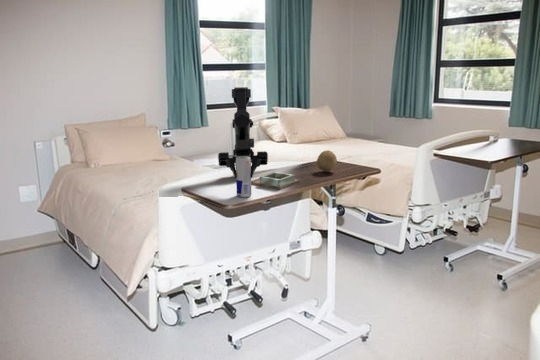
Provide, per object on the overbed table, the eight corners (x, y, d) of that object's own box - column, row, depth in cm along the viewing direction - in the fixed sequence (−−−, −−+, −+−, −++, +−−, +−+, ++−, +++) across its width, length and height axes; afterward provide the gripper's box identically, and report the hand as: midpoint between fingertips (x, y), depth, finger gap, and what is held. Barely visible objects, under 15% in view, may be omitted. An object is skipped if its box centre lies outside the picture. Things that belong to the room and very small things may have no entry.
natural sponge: (340, 173, 218) (341, 151, 216) (324, 175, 215) (324, 153, 212) (330, 169, 226) (330, 148, 224) (313, 171, 223) (313, 149, 220)
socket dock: (248, 183, 202) (248, 175, 201) (268, 177, 213) (268, 168, 212) (280, 189, 193) (280, 180, 192) (299, 182, 204) (299, 173, 203)
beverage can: (251, 193, 187) (250, 155, 183) (251, 198, 181) (250, 158, 178) (237, 194, 187) (235, 156, 183) (236, 198, 181) (235, 159, 178)
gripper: (217, 131, 181) (217, 166, 173) (267, 130, 182) (269, 165, 174) (219, 148, 191) (219, 182, 183) (266, 147, 192) (268, 181, 184)
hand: (243, 177), depth 181 cm, fingers closed on beverage can, 5 cm apart
